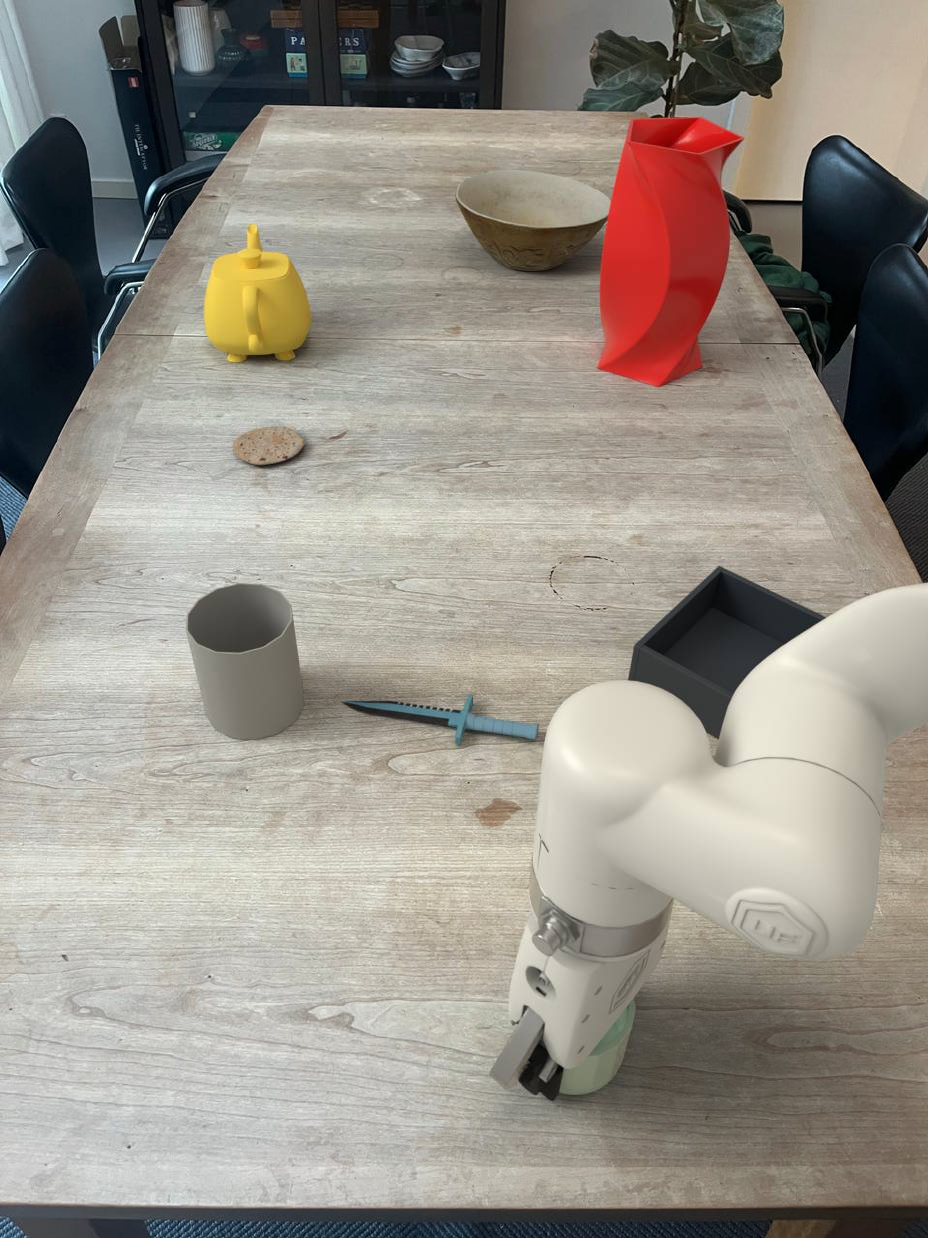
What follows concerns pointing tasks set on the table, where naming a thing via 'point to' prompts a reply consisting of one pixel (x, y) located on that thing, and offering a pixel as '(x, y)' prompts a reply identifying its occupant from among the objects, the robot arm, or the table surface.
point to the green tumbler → (600, 1058)
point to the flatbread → (268, 445)
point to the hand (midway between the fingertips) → (571, 1036)
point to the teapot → (256, 303)
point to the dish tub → (716, 642)
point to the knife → (447, 717)
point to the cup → (246, 660)
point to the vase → (664, 247)
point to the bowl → (531, 216)
